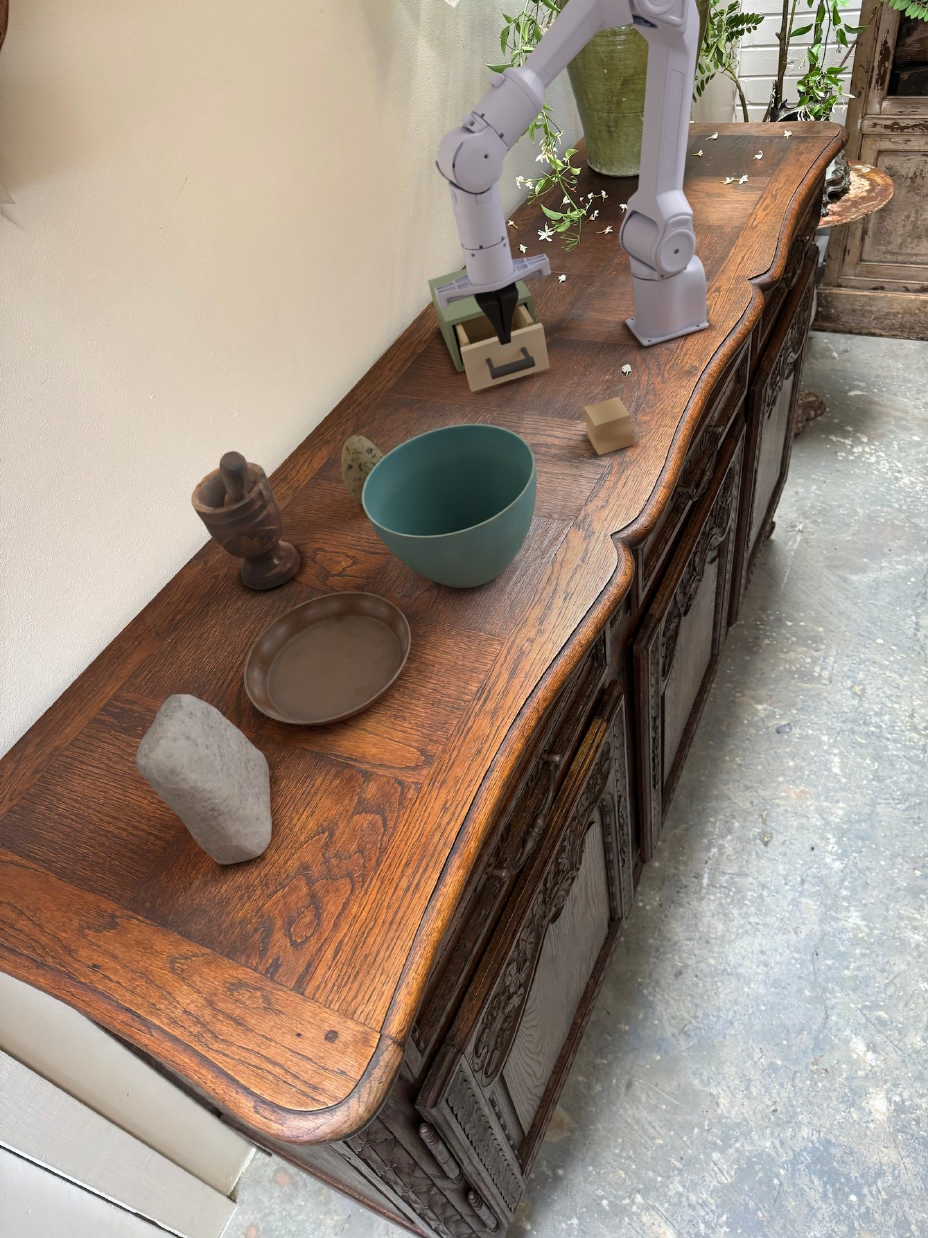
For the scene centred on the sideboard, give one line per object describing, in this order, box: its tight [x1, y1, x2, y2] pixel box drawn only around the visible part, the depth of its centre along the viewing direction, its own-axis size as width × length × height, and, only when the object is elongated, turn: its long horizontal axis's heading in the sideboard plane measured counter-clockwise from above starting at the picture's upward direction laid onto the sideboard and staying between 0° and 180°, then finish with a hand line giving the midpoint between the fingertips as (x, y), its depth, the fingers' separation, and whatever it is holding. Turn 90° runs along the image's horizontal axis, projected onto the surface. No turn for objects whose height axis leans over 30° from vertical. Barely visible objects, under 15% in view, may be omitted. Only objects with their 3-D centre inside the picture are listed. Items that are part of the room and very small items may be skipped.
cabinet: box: [427, 268, 537, 373], centre depth 125 cm, size 15×13×8 cm
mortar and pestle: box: [191, 450, 301, 591], centre depth 93 cm, size 12×9×20 cm
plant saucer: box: [243, 591, 412, 726], centre depth 86 cm, size 18×18×3 cm
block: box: [583, 396, 634, 456], centre depth 102 cm, size 4×4×4 cm
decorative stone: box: [135, 693, 273, 865], centre depth 72 cm, size 11×6×15 cm, turn 5°
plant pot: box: [362, 423, 538, 589], centre depth 90 cm, size 18×18×12 cm
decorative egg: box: [340, 434, 385, 507], centre depth 102 cm, size 6×6×10 cm
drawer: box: [452, 303, 550, 393], centre depth 117 cm, size 18×11×6 cm, turn 12°
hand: (504, 340), depth 111 cm, fingers closed
